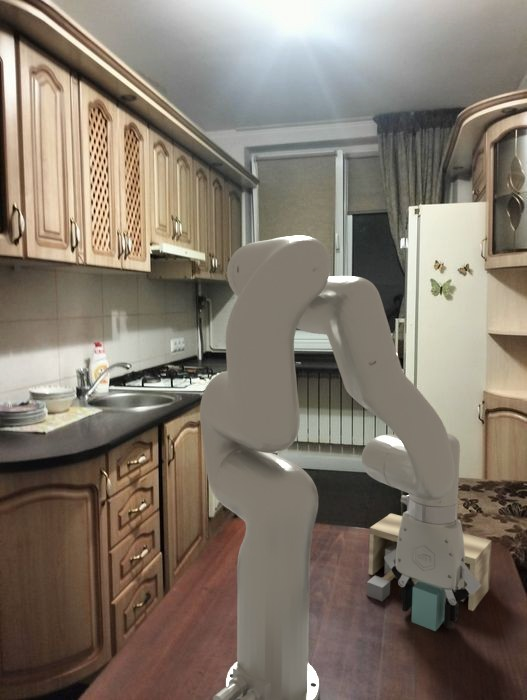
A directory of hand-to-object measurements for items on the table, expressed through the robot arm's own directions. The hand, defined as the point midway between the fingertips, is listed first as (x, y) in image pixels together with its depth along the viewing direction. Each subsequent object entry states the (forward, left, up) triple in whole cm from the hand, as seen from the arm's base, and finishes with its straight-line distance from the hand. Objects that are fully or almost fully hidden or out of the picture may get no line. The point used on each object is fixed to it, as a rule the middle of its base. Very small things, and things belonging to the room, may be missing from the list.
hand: (428, 614), depth 89 cm
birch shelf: (+12, +5, -1) cm, 13 cm away
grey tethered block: (+7, +10, -1) cm, 13 cm away
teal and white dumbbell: (+6, 0, -1) cm, 6 cm away
